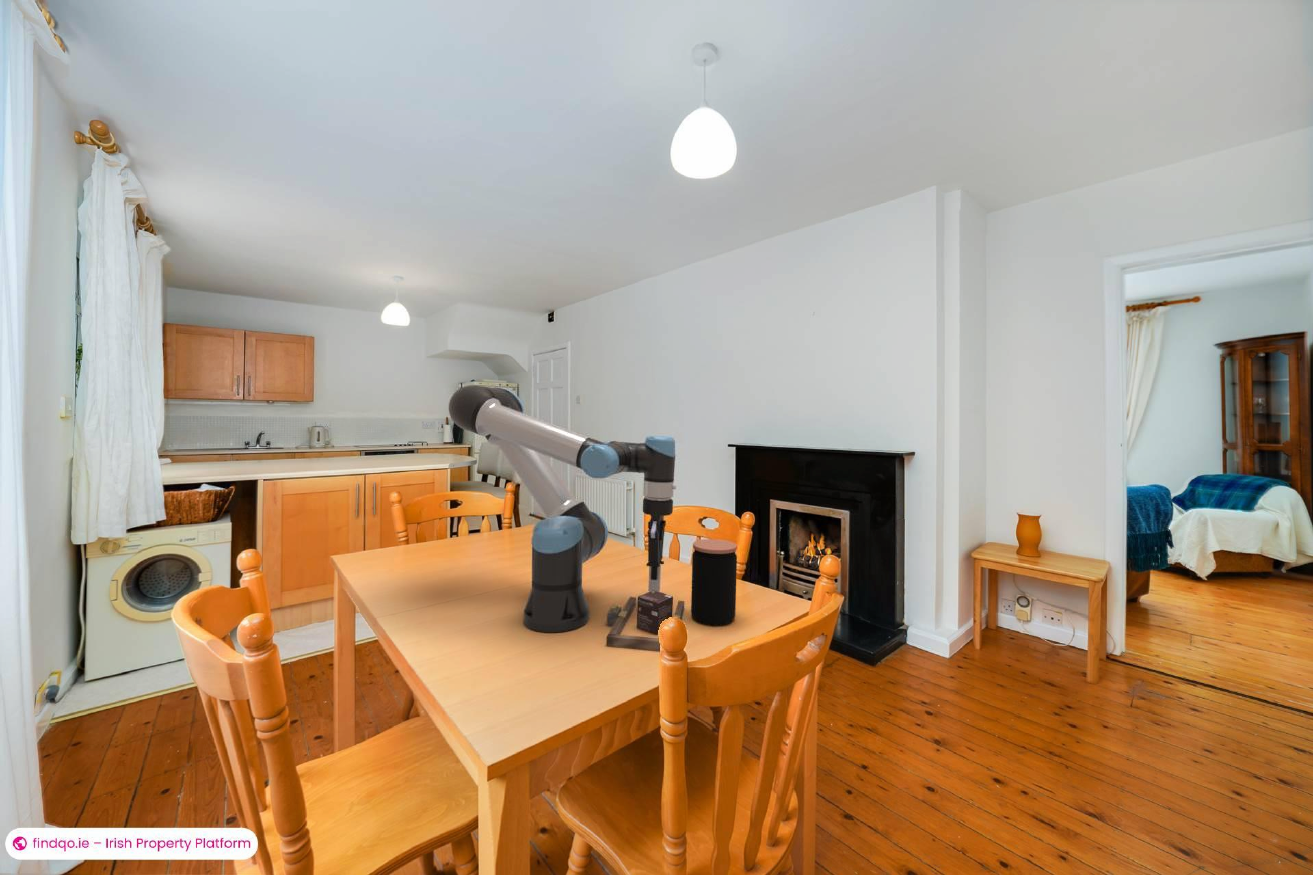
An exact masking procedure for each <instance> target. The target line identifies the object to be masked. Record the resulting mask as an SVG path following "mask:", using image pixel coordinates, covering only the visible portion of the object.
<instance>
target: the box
mask: <svg viewBox="0 0 1313 875" xmlns="http://www.w3.org/2000/svg"><path fill="white" fill-rule="evenodd" d="M636 605H637V606H636V608H637V609H636V628H638V629H640V630H642V631H644V632H647V633H650V634H654V635H656V636H658V635H659V634H658V630H659V627H660V624H661V623H662V621H664V620H665V619H668V618H669V617H672V618H673V608H674V607H673V605H674V596H673V595H669V594H666V593H665V592H660V591H659V592H657V591H654V590H653V591H650V592H649V591H648V592H646V593H644V594H641V595H638V596H637V601H636Z"/></svg>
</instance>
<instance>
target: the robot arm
mask: <svg viewBox="0 0 1313 875" xmlns="http://www.w3.org/2000/svg"><path fill="white" fill-rule="evenodd" d="M524 408H525V407H524V404H523V402H522V401H521V399H520V397H519V396H518V395H517V394H516V393H515V392H513V391H512V390H508V389H506V388H503V387H497V386H496V387H490V386H482V385H476V384H472V385H471V384H469V385H466V386H463V387H460V388H458V389H457V390H455V392H454V393H453V394H452V396H451V397H450V400H449V403H448V412H449V413H448V415H449V416H450V419H451V421H453V423H454V424H455V425H457V427H459V428H460V429H462V430H465V431H468V432H471V433H474V434H477V435H479V436H482V437H485V439H486V440H487V442H488V443H489V444H490V445H495V446H498V448H499V449H500V450H501V452H502V454H503V455H504V456H505V458H506V459H507V460H508V462H509V464H510V465H511V467H512V468H513V469H514V471H515V473H516V474H517V475H518V477H519V479H520V480H521V482H523V485H524V486H525V488H526V489H527V490H528V492H529V493H530V495H531V496H532V497H533V499H534V501H535V502H536V503H537V505H538V506H539V508H540V509H541V511H542V513H543V514H544V516H545V517H546V518H544V519H542V520H540V521H538V522H537V523H536V524H535V525H534V526H533V529H532V537H531V590H530V592H529V594H528V598H527V600H526V601H527V602H526V604H525V607H524V609H523V624H524V626H525V627H527V628H528V629H529V630H533V631H535V632H541V633H561V632H568V631H573V630H576V629H578V628H580V627H582V626H584V625H586V624H587V622H588V621H589V619H590V609H589V604H588V601H587V598H586V594H585V592H584V589H583V588H584V587H583V564H585V563H586V562H588V561H589V560H590V559H592V558H594V557H596V555H598V554H599V553H600V552H601V550H602V549H603V548H604V547H605V545H606V543H607V541H608V538H609V537H608V535H609V532H608V531H609V530H608V527H607V526H608V525H607V523H606V521H605V519H604V518H603V517H602V516H601V515H600V514H599V513H596V512H595V511H591V510H590V509H589V507H588V506H587V504H586V503H585V502H584V501H583V500H581V499H576V498H574V496H573V495H572V493H571V492H570V490H569V489H568V487H567V486H566V484H565V483H564V481H563V480H562V479H561V477H560V476H559V474H558V473H557V471H556V470H555V469H554V467H553V466H552V464H551V463H550V462H549V460H548V459H547V457H549V458H552V459H554V460H557V461H560V462H562V463H565V464H568V465H570V466H573V467H575V468H578V469H581V470H582V471H583V472H584V473H585V474H586V475H587V476H588V477H589V478H592V479H606V478H608V477H611V476H614V475H616V474H621V473H639V474H643V489H642V490H643V492H642V493H643V494H642V495H643V496H644V498H643V499H642V512H643V513H644V514H645V515H649V516H650V520H649V521H648V522H647V529H648V530H647V541H648V542H647V544H648V546H647V560H648V562H647V563H646V567H648V568H649V569H648V592H650V591H653V590H654V591H657V592H660V591H661V574H662V573H661V571H662V565H665V564H664V563H665V561H664V560H663V559H664V557H663V554H664V553H663V550H664V539H665V531H666V530H665V527H666V525H667V520H665V517H667V516H670V515H672V514H673V509H674V500H673V499H672V498H673V497H674V490H676V489H677V487H676V485H674V483H675V468H676V466H675V465H676V464H675V463H676V457H677V456H676V441H675V439H674V437H672V436H664V435H648V436H646V437H645V440H644V442H626V441H616V440H613V441H611V440H609V441H600V440H597V439H594V438H591V437H590V436H586V435H583V434H580V433H578V432H575V431H572V430H570V429H567V428H564V427H562V426H559V425H556V424H554V423H551V422H548V421H546V420H542V419H540V418H537V417H536V416H535V417H534V416H531V415H529V414H526V413H524Z"/></svg>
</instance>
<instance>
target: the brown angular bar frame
mask: <svg viewBox="0 0 1313 875" xmlns="http://www.w3.org/2000/svg"><path fill="white" fill-rule="evenodd" d="M636 605H637V597H636V596H630V597H629V598H628V600H627V602H626V603H625V605H624V607H623V609H622V607H620V606H619V605H617V604H613V605H612V606H610V608H609V609H608V611H607V613H606V627H611V629H610V630H609V632H608V634H607V635H606V647H613V648H614V647H615V648H622V649H623V648H625V649H633V650H635V649H636V650H644V651H646V650H647V651H656V652H661V651H660V643H659V638H660V637H651V636H650V637H649V636H640V635H639V636H638V635H627V634H621V633H622V632H623V630H624V628H625V626H626V624H627V623H628V620H629V619H630V617H631V615H632V613H633V611H634V609H635V608H636V607H637V606H636ZM684 610H685V600H678V601H677V604H676V608H675V611H674V614H672V618H673V617H677V618H678V619H681V620H683V615H684V612H685V611H684Z"/></svg>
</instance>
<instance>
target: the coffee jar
mask: <svg viewBox="0 0 1313 875" xmlns="http://www.w3.org/2000/svg"><path fill="white" fill-rule="evenodd" d="M692 547H693V549H694V551H693V552H692V554H691V555H692V556H691V561H692V562H691V594H690V595H691V599H690V602H691V603H690V604H691V605H690V612H691V616H692V617H693V618H694V619H693V620H695V621H696V622H698V623H700V624H702V625H705V626H713V627H720V626H721V627H722V626H725V625H728V624H731V623H732V622H733V620H734V619H735V616H736V610H737V607H736V606H737V602H736V601H737V600H736V599H737V573H738V572H737V569H738V568H737V567H738V564H737V563H738V556H737V554H736V551H737V549H738V545H737V544H736V543H735V542H733V541H729V540H726V539H725V540H724V539H713V538H706V539H699V540H695V541H693V543H692Z"/></svg>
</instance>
